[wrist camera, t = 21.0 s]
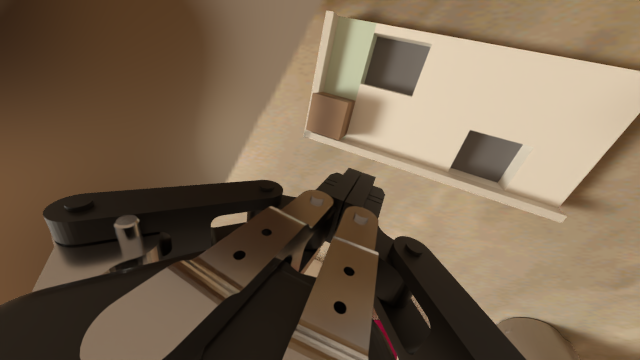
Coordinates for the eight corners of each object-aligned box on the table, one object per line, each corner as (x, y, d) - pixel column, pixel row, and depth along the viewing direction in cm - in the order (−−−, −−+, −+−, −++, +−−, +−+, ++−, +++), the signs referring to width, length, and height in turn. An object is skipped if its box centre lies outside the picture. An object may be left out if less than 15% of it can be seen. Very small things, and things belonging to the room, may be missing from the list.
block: (355, 100, 32) (348, 102, 28) (346, 134, 34) (338, 140, 31) (323, 91, 33) (312, 92, 30) (316, 125, 35) (305, 129, 32)
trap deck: (642, 77, 23) (693, 76, 19) (541, 203, 31) (561, 223, 26) (338, 20, 32) (326, 10, 27) (315, 130, 39) (303, 136, 35)
